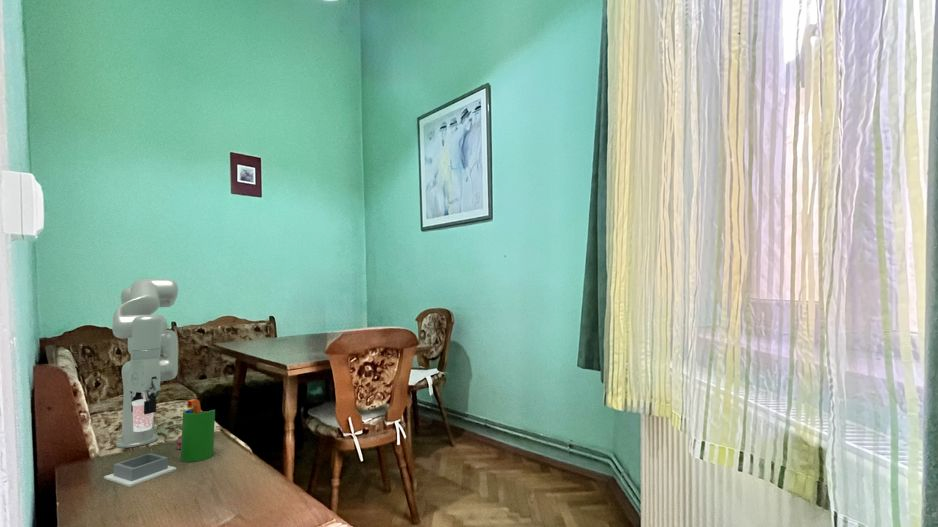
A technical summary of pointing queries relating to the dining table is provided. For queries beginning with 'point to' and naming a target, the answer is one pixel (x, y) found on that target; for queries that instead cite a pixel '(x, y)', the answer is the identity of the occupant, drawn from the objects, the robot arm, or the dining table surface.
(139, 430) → the beverage cup
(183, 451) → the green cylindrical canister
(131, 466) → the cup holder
